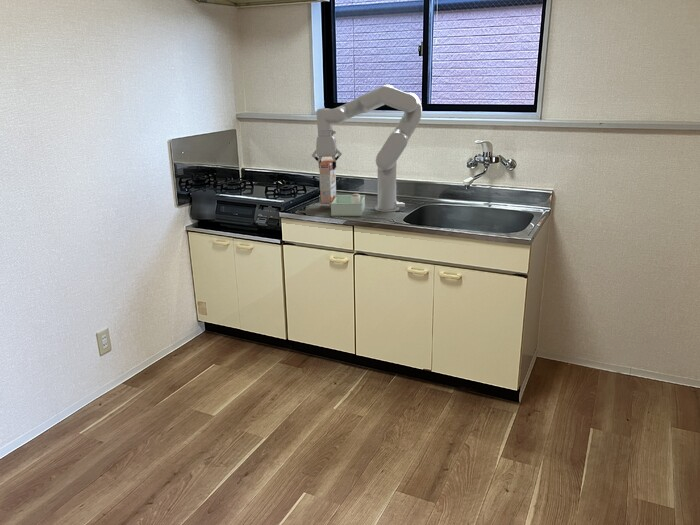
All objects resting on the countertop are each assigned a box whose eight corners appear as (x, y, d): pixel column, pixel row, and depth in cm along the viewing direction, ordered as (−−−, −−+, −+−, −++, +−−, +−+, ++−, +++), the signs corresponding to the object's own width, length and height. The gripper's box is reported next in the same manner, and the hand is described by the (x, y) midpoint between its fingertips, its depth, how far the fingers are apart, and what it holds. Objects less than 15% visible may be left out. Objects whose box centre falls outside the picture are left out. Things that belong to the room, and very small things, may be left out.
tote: (365, 207, 299) (365, 195, 297) (362, 216, 282) (361, 203, 279) (335, 207, 301) (335, 195, 299) (330, 216, 284) (330, 203, 281)
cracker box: (331, 204, 290) (330, 163, 283) (320, 204, 291) (318, 163, 284) (337, 198, 303) (335, 158, 296) (326, 197, 304) (324, 158, 297)
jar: (360, 209, 292) (360, 193, 290) (360, 212, 288) (359, 195, 285) (352, 209, 293) (351, 193, 290) (351, 211, 289) (351, 195, 286)
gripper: (343, 132, 288) (345, 167, 294) (309, 133, 290) (312, 168, 296) (341, 134, 280) (343, 170, 286) (307, 135, 283) (309, 171, 289)
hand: (327, 169), depth 291 cm, fingers closed on cracker box, 6 cm apart
